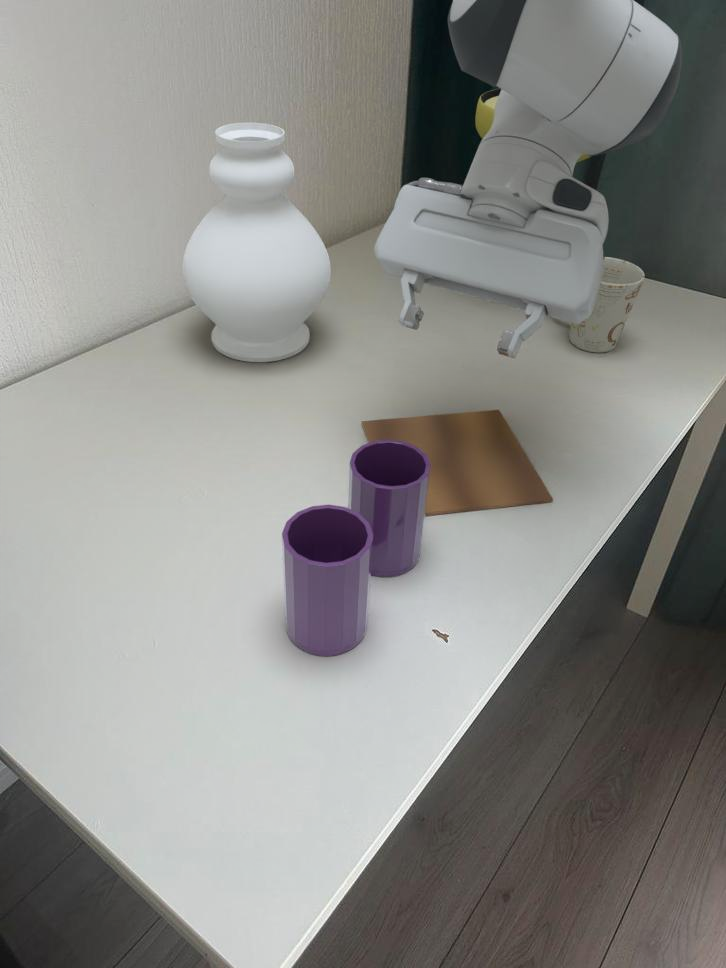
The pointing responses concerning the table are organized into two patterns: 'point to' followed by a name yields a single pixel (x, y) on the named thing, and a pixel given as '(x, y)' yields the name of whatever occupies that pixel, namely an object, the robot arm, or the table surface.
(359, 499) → the cup
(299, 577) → the cup
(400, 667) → the table surface
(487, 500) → the mat
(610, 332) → the mug
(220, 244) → the decorative vase
